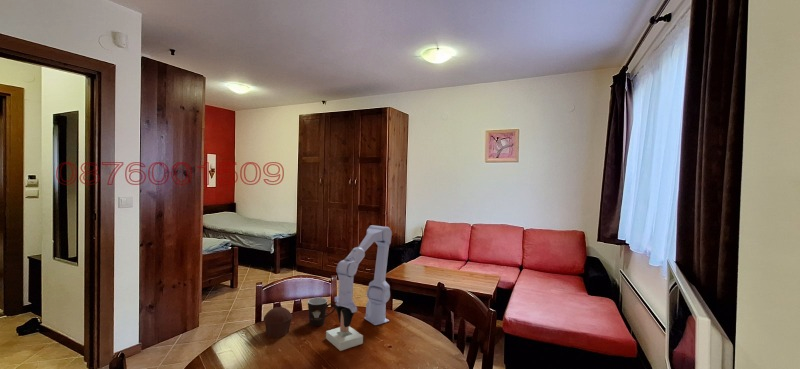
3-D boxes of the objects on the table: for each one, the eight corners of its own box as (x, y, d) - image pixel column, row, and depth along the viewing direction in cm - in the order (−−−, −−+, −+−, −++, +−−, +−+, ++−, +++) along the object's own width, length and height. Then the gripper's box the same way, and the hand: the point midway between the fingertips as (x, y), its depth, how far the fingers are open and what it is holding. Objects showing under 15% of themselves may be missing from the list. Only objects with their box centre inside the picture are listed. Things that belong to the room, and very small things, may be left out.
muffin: (259, 331, 136) (259, 307, 136) (285, 324, 144) (285, 301, 144) (269, 342, 127) (270, 316, 127) (296, 334, 135) (297, 310, 135)
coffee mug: (303, 325, 143) (303, 302, 143) (313, 318, 151) (314, 296, 151) (326, 329, 139) (327, 306, 139) (336, 321, 148) (336, 300, 148)
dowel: (338, 329, 131) (339, 309, 131) (346, 327, 133) (346, 308, 133) (342, 332, 128) (343, 312, 128) (350, 330, 130) (351, 310, 130)
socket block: (325, 338, 132) (326, 331, 132) (347, 331, 138) (347, 324, 138) (340, 350, 123) (340, 343, 123) (362, 343, 129) (363, 335, 129)
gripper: (328, 287, 133) (327, 320, 133) (346, 298, 122) (344, 334, 122) (343, 284, 138) (342, 316, 138) (362, 294, 127) (360, 329, 127)
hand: (344, 324), depth 130 cm, fingers closed on dowel, 3 cm apart
